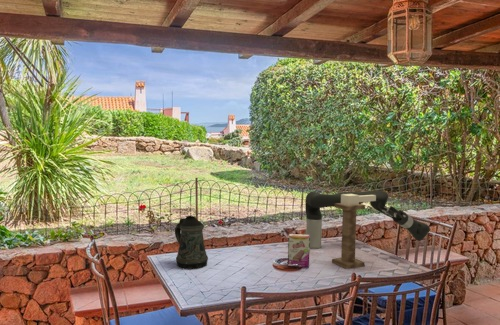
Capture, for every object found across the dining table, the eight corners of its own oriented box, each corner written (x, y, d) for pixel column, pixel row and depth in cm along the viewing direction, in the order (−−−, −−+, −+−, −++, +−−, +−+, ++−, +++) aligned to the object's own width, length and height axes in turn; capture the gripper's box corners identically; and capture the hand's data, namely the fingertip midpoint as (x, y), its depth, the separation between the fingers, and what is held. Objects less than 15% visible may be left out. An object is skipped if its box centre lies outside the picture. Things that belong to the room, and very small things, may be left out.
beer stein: (202, 270, 222) (202, 221, 220) (165, 267, 226) (165, 219, 224) (211, 261, 238) (212, 214, 236) (177, 258, 242) (177, 213, 240)
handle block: (348, 205, 229) (348, 196, 228) (340, 203, 234) (341, 194, 234) (378, 203, 238) (378, 193, 237) (370, 201, 243) (370, 192, 243)
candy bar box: (287, 267, 229) (288, 235, 228) (287, 264, 234) (288, 233, 233) (309, 268, 228) (310, 236, 227) (309, 265, 233) (309, 234, 232)
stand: (346, 268, 227) (347, 206, 225) (331, 262, 238) (333, 203, 236) (364, 266, 233) (366, 205, 230) (349, 259, 243) (351, 201, 241)
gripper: (410, 227, 243) (391, 214, 237) (391, 222, 256) (372, 210, 249) (415, 215, 245) (396, 202, 238) (396, 211, 257) (378, 198, 250)
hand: (384, 206), depth 244 cm, fingers open, 8 cm apart
